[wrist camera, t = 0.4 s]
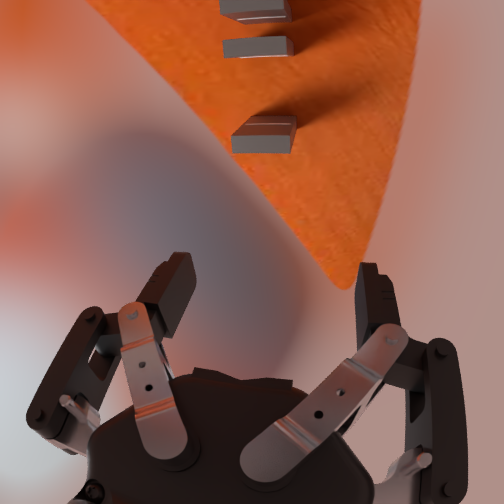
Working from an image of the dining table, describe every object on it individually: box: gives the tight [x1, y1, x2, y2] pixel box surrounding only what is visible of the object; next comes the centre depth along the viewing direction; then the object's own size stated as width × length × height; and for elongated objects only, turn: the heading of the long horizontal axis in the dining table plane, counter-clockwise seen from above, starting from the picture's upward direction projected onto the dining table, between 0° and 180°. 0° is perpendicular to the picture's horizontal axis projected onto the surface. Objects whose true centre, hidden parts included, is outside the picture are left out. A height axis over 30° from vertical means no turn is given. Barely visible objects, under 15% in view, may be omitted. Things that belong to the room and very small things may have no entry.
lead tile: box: [231, 116, 297, 154], centre depth 28 cm, size 2×5×9 cm, turn 94°
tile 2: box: [223, 36, 294, 58], centre depth 23 cm, size 2×5×9 cm, turn 94°
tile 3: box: [219, 0, 292, 24], centre depth 21 cm, size 2×5×9 cm, turn 93°
